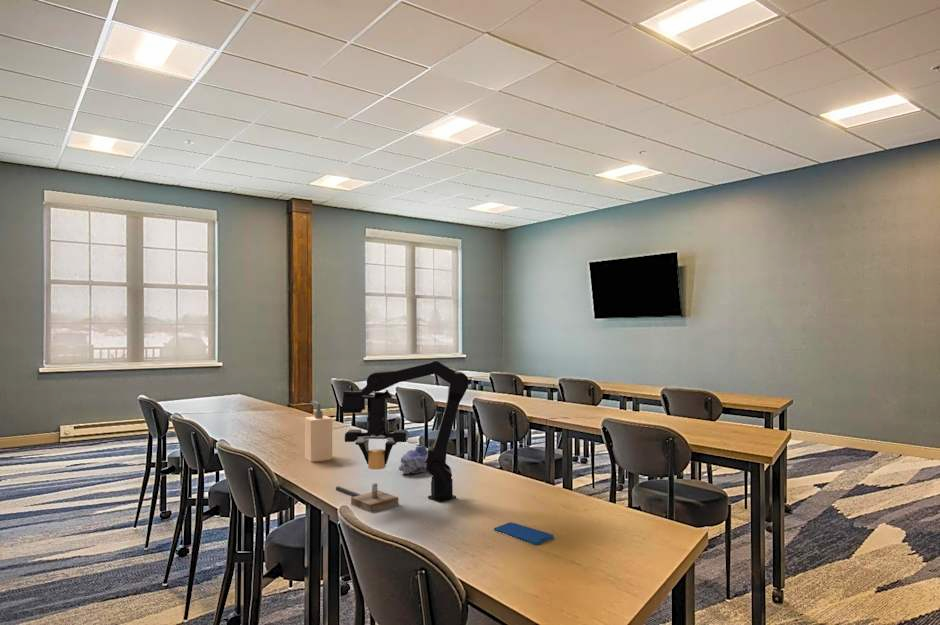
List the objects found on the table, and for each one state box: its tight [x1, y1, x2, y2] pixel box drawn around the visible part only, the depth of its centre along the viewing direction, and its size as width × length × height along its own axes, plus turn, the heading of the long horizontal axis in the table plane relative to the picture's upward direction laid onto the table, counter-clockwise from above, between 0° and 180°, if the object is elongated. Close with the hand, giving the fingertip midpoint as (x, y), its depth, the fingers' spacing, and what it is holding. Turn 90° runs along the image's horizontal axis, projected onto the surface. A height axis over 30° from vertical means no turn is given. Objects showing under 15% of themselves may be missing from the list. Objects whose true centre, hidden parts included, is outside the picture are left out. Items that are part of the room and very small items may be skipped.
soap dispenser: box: [304, 400, 333, 463], centre depth 233 cm, size 13×9×22 cm
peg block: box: [350, 482, 399, 512], centre depth 173 cm, size 10×10×6 cm
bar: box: [335, 485, 362, 497], centre depth 182 cm, size 16×1×1 cm, turn 44°
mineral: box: [398, 445, 428, 475], centre depth 210 cm, size 14×10×10 cm
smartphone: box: [493, 522, 554, 546], centre depth 148 cm, size 7×1×15 cm
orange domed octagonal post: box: [367, 448, 387, 470], centre depth 177 cm, size 5×5×5 cm
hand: (377, 464), depth 176 cm, fingers closed on orange domed octagonal post, 5 cm apart
